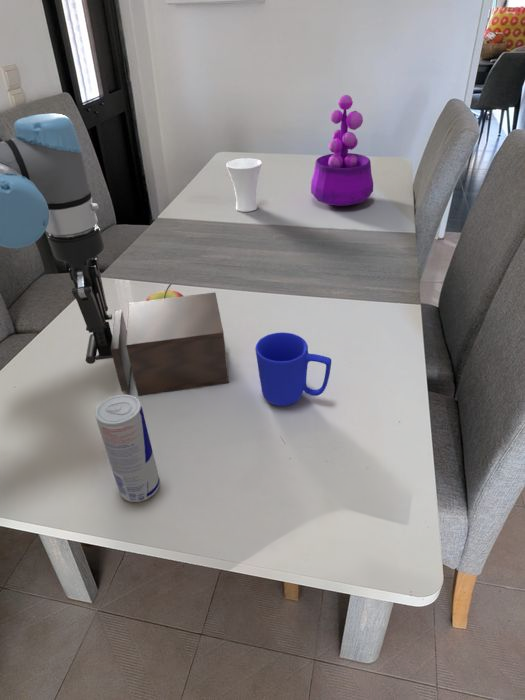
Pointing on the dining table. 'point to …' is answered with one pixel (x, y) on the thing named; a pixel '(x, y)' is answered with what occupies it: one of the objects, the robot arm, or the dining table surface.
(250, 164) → the cup
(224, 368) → the cabinet
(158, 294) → the apple
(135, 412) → the beverage can
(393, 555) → the dining table surface
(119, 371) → the drawer
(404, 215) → the dining table surface
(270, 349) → the mug
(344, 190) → the decorative plant
